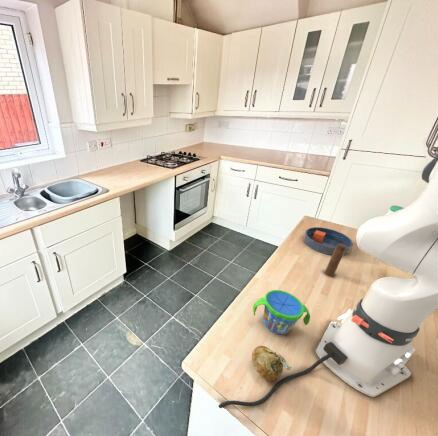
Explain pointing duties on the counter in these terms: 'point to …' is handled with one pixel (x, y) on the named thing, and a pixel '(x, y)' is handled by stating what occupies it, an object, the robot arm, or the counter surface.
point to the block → (318, 236)
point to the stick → (335, 259)
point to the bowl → (327, 240)
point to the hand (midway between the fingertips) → (387, 238)
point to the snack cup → (281, 311)
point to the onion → (268, 363)
